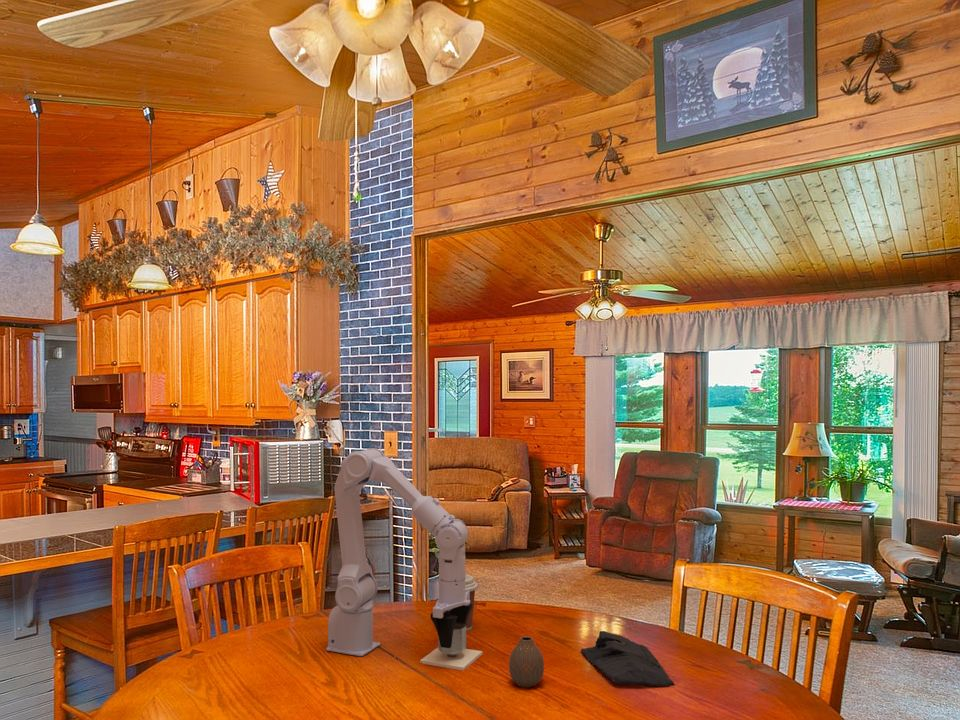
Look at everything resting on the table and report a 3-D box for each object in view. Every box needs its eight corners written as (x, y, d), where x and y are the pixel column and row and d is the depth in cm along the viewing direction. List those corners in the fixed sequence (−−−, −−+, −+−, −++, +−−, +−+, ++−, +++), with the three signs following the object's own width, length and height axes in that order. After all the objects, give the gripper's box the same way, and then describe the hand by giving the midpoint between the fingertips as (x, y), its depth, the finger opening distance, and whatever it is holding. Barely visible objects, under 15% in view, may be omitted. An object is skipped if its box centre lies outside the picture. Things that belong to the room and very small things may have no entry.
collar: (435, 651, 155) (435, 628, 155) (446, 643, 160) (446, 620, 160) (458, 655, 153) (458, 631, 153) (469, 647, 158) (469, 623, 158)
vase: (520, 693, 139) (520, 646, 139) (502, 680, 145) (502, 635, 145) (551, 686, 142) (550, 640, 142) (532, 674, 148) (532, 630, 148)
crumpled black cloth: (602, 692, 140) (602, 667, 140) (578, 651, 162) (578, 629, 162) (680, 690, 141) (679, 665, 141) (645, 649, 163) (645, 627, 163)
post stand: (420, 663, 154) (420, 636, 154) (441, 647, 163) (441, 622, 163) (463, 670, 150) (463, 642, 150) (482, 654, 159) (482, 628, 159)
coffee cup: (439, 622, 180) (439, 573, 181) (475, 620, 181) (475, 572, 182) (441, 634, 171) (441, 582, 172) (479, 633, 172) (479, 581, 173)
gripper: (454, 589, 149) (454, 656, 148) (482, 572, 162) (482, 634, 161) (423, 585, 151) (423, 651, 151) (453, 569, 165) (453, 630, 164)
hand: (451, 642), depth 156 cm, fingers closed on collar, 5 cm apart
